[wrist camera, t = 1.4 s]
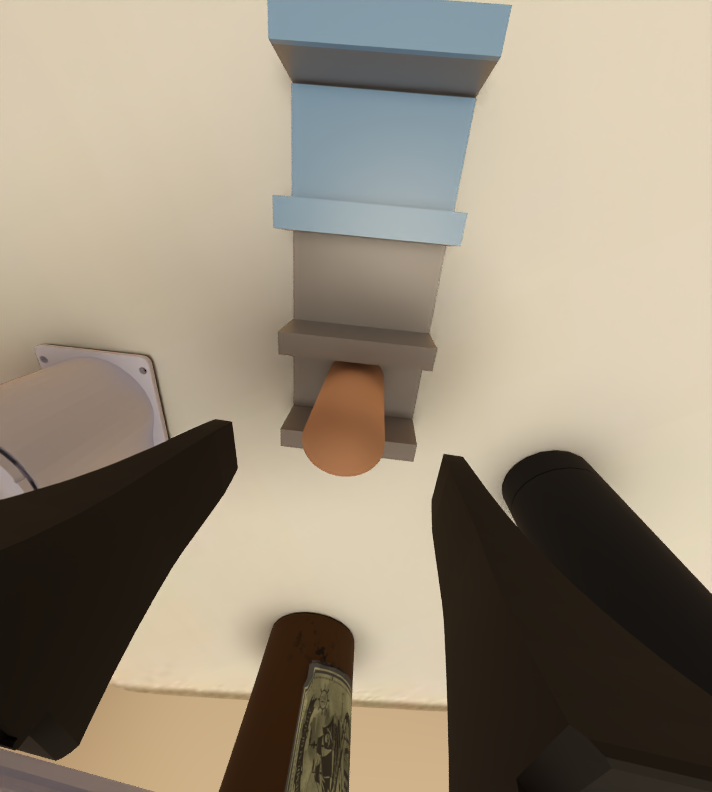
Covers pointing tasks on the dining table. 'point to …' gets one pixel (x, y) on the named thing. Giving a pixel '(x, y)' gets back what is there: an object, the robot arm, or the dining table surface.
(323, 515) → the dining table surface
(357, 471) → the tan rounded cylinder
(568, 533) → the wine bottle
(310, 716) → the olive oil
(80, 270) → the dining table surface
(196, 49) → the dining table surface
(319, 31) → the grey slotted rack
